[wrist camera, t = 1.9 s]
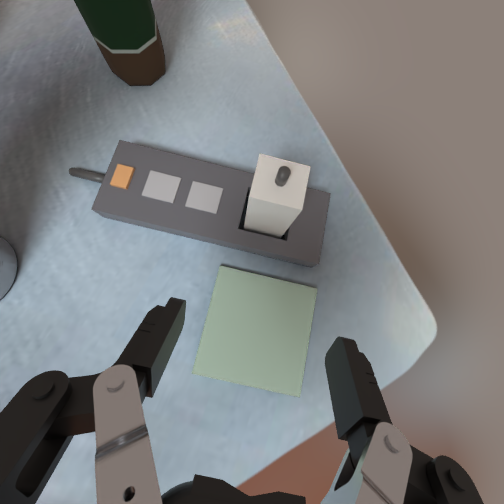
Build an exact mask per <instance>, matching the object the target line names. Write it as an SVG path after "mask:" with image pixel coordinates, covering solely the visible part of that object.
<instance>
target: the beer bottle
mask: <svg viewBox="0 0 504 504" xmlns="http://www.w3.org/2000/svg"><path fill="white" fill-rule="evenodd" d="M74 1H75V3H76V5H77V7H78V9H79V11H80V13H81V15H82V17H83V18H84V20H85V22H86V24H87V26H88V28H89V30H90V32H91V34H92V35H93V37H94V39H95V41H96V43H97V45H98V47H99V49H100V51H101V53H102V54H103V56H104V58H105V60H106V62H107V63H108V65H109V67H110V68H111V70H112V72H113V73H115V74H116V75H117V76H118V77H120V78H121V79H122V80H123V81H125V82H126V83H127V84H129V85H130V86H148V85H152V84H153V83H154V82H156V81H157V80H158V79H159V78H160V77H161V76H163V75H164V74H165V55H164V50H163V45H162V41H161V37H160V33H159V30H158V26H157V22H156V19H155V15H154V11H153V8H152V4H151V0H74Z"/></svg>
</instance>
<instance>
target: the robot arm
mask: <svg viewBox="0 0 504 504" xmlns="http://www.w3.org/2000/svg"><path fill="white" fill-rule="evenodd" d="M16 272H17V259H16V255H15V252H14V250H13V248H12V247H11V246H10V244H9V243H8V242H7V241H6V240H4V239H3V238H2V237H0V299H2V298H3V296H4V295H5V294H6V293H7V292H8V290H9V289H10V287H11V285H12V284H13V282H14V279H15V276H16ZM185 309H186V300H182V299H177V298H173V297H171V298H170V299H169V301H168V302H167V304H166V306H165V307H163V306H159V305H157V306H156V307H154V308H153V309H152V310H150V311H149V312H148V313H147V315H146V316H145V318H144V320H143V321H142V323H141V324H140V326H139V327H138V329H137V331H136V332H135V334H134V335H133V337H132V338H131V340H130V341H129V343H128V344H127V346H126V348H125V349H124V351H123V352H122V354H121V355H120V357H119V359H118V360H117V361H116V362H115V363H114V365H112V366H111V367H110V368H108V369H106V370H105V371H103V372H101V373H99V374H95V375H89V376H81V377H72V378H68V376H67V375H66V374H65V373H64V372H62V371H48V372H44V373H41V374H39V375H37V376H35V377H34V378H32V379H31V380H29V381H28V382H27V383H26V384H25V385H24V386H23V387H22V388H21V389H20V390H19V392H18V393H17V394H16V395H15V396H14V397H13V399H12V400H11V401H10V402H9V403H8V405H7V406H6V407H5V408H4V409H3V410H2V412H1V413H0V504H35V503H36V501H37V500H38V498H39V496H40V494H41V493H42V491H43V489H44V487H45V486H46V484H47V482H48V480H49V479H50V477H51V475H52V473H53V472H54V470H55V468H56V466H57V465H58V463H59V461H60V459H61V458H62V456H63V454H64V452H65V451H66V449H67V447H68V445H69V444H70V442H71V440H72V438H73V436H74V435H78V434H84V433H89V432H95V431H96V455H95V474H96V492H97V504H306V500H305V497H303V496H297V495H293V494H288V493H283V492H273V493H268V494H262V495H257V496H248V495H246V494H244V493H243V492H241V491H240V490H238V489H236V488H235V487H233V486H231V485H230V484H228V483H227V482H225V481H223V480H220V479H216V478H211V477H206V476H201V475H196V474H195V476H194V479H193V481H190V482H185V483H182V484H179V485H177V486H175V487H173V488H172V489H170V490H169V491H167V492H166V493H164V494H163V495H162V496H161V494H160V489H159V484H158V479H157V474H156V469H155V464H154V459H153V454H152V449H151V444H150V439H149V434H148V430H147V428H146V424H145V419H144V414H143V409H142V403H143V401H144V399H145V397H151V398H152V397H153V395H154V393H155V390H156V388H157V386H158V384H159V381H160V379H161V377H162V374H163V372H164V370H165V368H166V365H167V363H168V361H169V358H170V356H171V354H172V352H173V349H174V347H175V345H176V343H177V340H178V338H179V336H180V333H181V331H182V328H183V325H184V320H185ZM325 367H326V373H327V378H328V384H329V390H330V395H331V401H332V406H333V412H334V417H335V423H336V428H337V434H338V439H341V440H345V441H348V445H349V449H348V450H347V451H346V454H345V456H344V458H343V461H342V463H341V465H340V467H339V470H338V472H337V474H336V477H335V479H334V481H333V483H332V486H331V488H330V490H329V492H328V494H327V495H326V496H325V498H324V499H323V500H322V502H321V504H484V503H483V502H482V499H481V497H480V495H479V493H478V491H477V489H476V487H475V485H474V483H473V481H472V480H471V478H470V476H469V475H468V474H467V472H466V471H465V470H464V469H463V468H462V467H461V466H460V465H459V464H458V463H457V462H456V461H454V460H453V459H451V458H449V457H447V456H443V455H442V456H438V457H436V458H435V459H433V458H431V457H430V456H428V455H426V454H424V453H423V452H421V451H419V450H418V449H416V448H414V447H413V446H411V445H410V444H409V443H408V441H407V439H406V438H405V436H404V435H403V434H402V432H401V431H400V430H399V429H398V428H396V427H395V426H393V424H392V422H391V420H390V417H389V414H388V411H387V408H386V406H385V403H384V400H383V397H382V394H381V392H380V389H379V386H378V385H377V384H378V383H377V381H376V378H375V377H374V372H373V369H372V367H371V364H370V362H369V361H368V359H367V358H366V356H365V355H364V354H363V353H361V352H359V350H358V347H357V344H356V342H355V341H354V340H352V339H348V338H344V337H337V338H336V340H335V341H334V343H333V344H332V346H331V347H330V349H329V350H328V352H327V354H326V357H325Z"/></svg>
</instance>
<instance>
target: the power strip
mask: <svg viewBox="0 0 504 504" xmlns="http://www.w3.org/2000/svg"><path fill="white" fill-rule="evenodd" d="M69 173H70V175H72V176H75V177H79V178H83V179H87V180H91V181H95V182H99V183H102V184H101V187H100V189H99V192H98V194H97V197H96V199H95V201H94V204H93V206H92V210H93V211H95V212H96V213H98V214H99V215H101V216H103V217H105V218H109V219H113V220H117V221H122V222H126V223H130V224H134V225H138V226H142V227H146V228H151V229H155V230H159V231H163V232H167V233H171V234H175V235H180V236H184V237H188V238H192V239H196V240H200V241H205V242H209V243H213V244H217V245H221V246H225V247H229V248H234V249H238V250H242V251H246V252H250V253H254V254H258V255H263V256H267V257H271V258H275V259H279V260H283V261H288V262H292V263H296V264H300V265H304V266H308V267H313V266H316V265H318V264H319V260H320V254H321V248H322V242H323V236H324V230H325V224H326V218H327V212H328V206H329V199H330V193H327V192H323V191H319V190H315V189H311V188H306V193H305V198H304V204H303V209H302V211H301V212H300V214H299V215H298V216H297V217H296V219H295V220H294V221H293V223H292V224H291V225H290V226H289V228H288V229H287V230H286V232H285V236H284V240H281V239H277V238H273V237H269V236H265V235H261V234H257V233H253V232H249V231H245V230H240V229H239V227H240V223H241V219H242V215H243V211H244V207H245V203H246V199H247V196H249V194H250V190H251V186H252V182H253V178H254V174H252V173H248V172H244V171H240V170H236V169H232V168H228V167H224V166H220V165H216V164H212V163H208V162H205V161H201V160H197V159H193V158H189V157H185V156H181V155H177V154H173V153H169V152H165V151H161V150H157V149H153V148H149V147H145V146H141V145H137V144H134V143H130V142H126V141H122V140H119V143H118V145H117V148H116V150H115V153H114V155H113V158H112V160H111V162H110V165H109V167H108V170H107V172H106V175H101V174H97V173H93V172H89V171H85V170H81V169H77V168H70V169H69Z"/></svg>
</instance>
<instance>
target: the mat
mask: <svg viewBox="0 0 504 504" xmlns="http://www.w3.org/2000/svg"><path fill="white" fill-rule="evenodd" d="M316 295H317V288H312V287H308V286H304V285H300V284H295V283H291V282H287V281H283V280H279V279H274V278H270V277H266V276H262V275H258V274H253V273H249V272H245V271H241V270H237V269H232V268H228V267H224V266H220V267H219V271H218V275H217V278H216V282H215V286H214V290H213V294H212V298H211V301H210V305H209V309H208V313H207V317H206V321H205V324H204V328H203V332H202V336H201V340H200V344H199V347H198V351H197V355H196V359H195V363H194V367H193V370H192V374H196V375H200V376H205V377H209V378H214V379H218V380H223V381H228V382H232V383H237V384H241V385H246V386H250V387H255V388H259V389H264V390H268V391H273V392H278V393H282V394H287V395H291V396H296V397H300V393H301V387H302V381H303V375H304V369H305V362H306V356H307V350H308V344H309V338H310V332H311V325H312V319H313V313H314V307H315V301H316Z"/></svg>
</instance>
